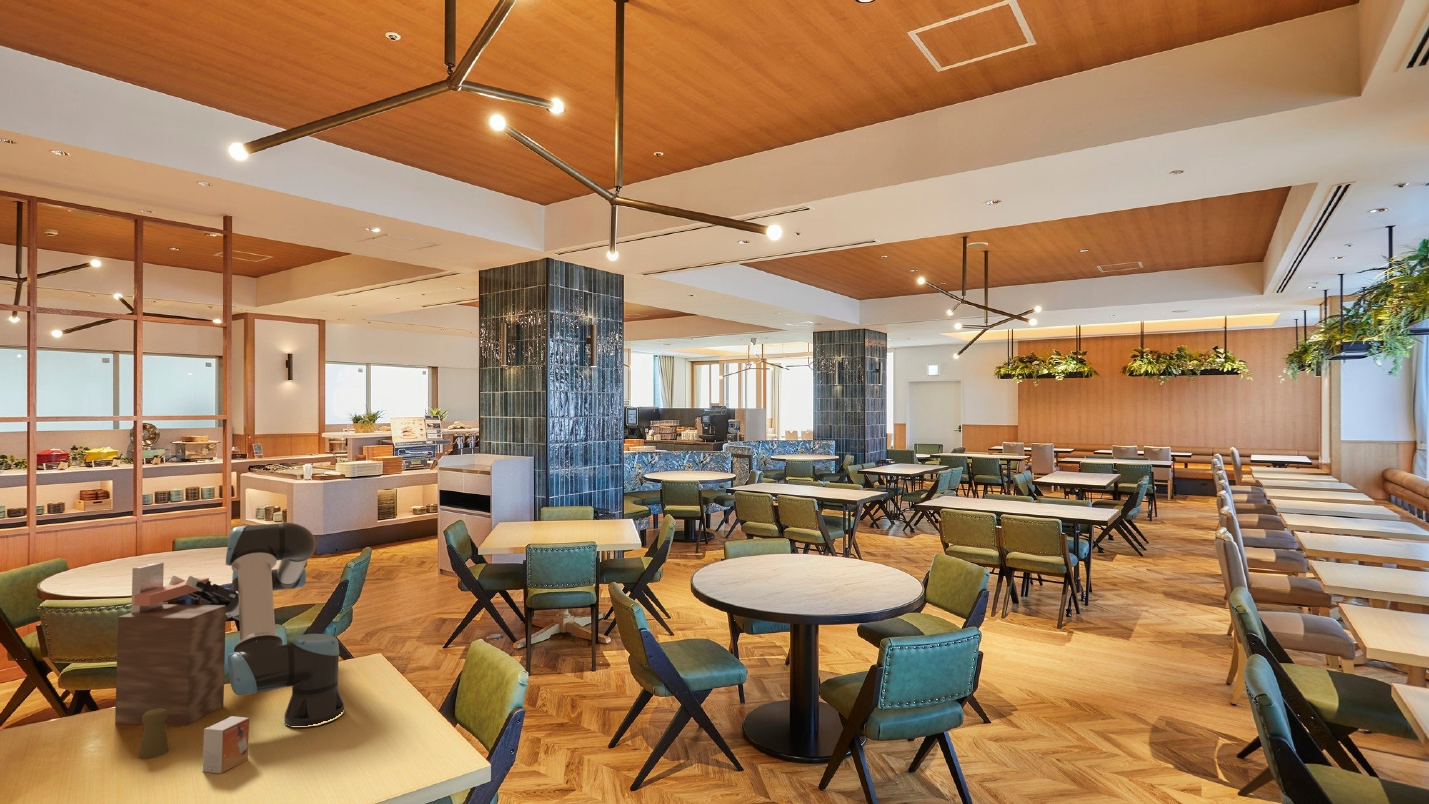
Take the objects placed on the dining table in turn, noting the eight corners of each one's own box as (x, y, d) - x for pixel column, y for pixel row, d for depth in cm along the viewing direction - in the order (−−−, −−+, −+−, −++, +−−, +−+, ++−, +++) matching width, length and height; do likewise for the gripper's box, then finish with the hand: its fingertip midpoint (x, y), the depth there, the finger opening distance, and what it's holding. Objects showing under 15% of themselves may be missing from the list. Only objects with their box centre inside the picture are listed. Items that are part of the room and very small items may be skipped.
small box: (221, 774, 171) (222, 730, 171) (201, 772, 172) (202, 728, 172) (249, 759, 179) (250, 717, 179) (230, 757, 180) (231, 715, 180)
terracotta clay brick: (195, 587, 223) (195, 577, 223) (208, 587, 222) (208, 578, 223) (134, 605, 201) (134, 594, 201) (149, 605, 201) (149, 595, 201)
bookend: (154, 605, 212) (155, 562, 212) (162, 606, 212) (163, 562, 212) (131, 613, 204) (132, 567, 204) (139, 613, 204) (140, 568, 204)
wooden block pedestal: (156, 703, 213) (159, 604, 214) (223, 705, 212) (226, 605, 213) (115, 723, 199) (118, 616, 200) (186, 725, 198) (189, 618, 199)
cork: (174, 750, 183) (175, 707, 184) (149, 760, 178) (150, 716, 178) (158, 746, 185) (159, 704, 186) (133, 756, 180) (134, 713, 180)
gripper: (249, 613, 232) (202, 593, 212) (198, 612, 232) (146, 592, 213) (257, 591, 235) (212, 568, 216) (207, 590, 236) (157, 567, 216)
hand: (180, 580), depth 214 cm, fingers closed on terracotta clay brick, 4 cm apart
